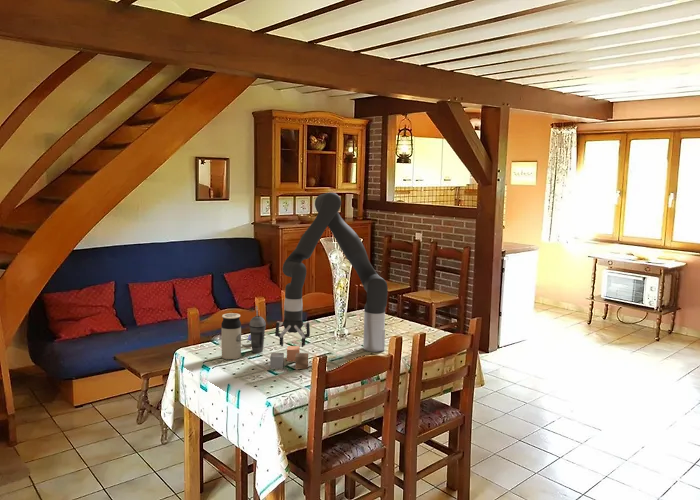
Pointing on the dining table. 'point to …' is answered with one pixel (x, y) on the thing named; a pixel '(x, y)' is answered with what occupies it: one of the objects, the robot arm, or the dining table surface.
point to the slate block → (276, 360)
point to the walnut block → (301, 361)
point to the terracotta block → (292, 352)
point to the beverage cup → (257, 333)
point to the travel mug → (231, 336)
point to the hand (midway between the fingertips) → (292, 346)
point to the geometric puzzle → (249, 337)
